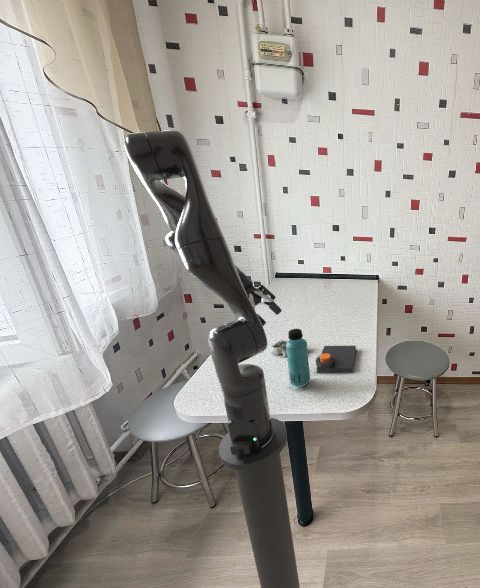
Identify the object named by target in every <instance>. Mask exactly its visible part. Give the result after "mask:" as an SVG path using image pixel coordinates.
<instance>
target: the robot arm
mask: <svg viewBox="0 0 480 588" xmlns="http://www.w3.org/2000/svg"><path fill="white" fill-rule="evenodd" d="M123 143H124V148H125V151H126V154H127V157H128V159H129V161H130V163H131V166H132V167H133V170H134V172H135V173H136V175H137V176H138V178H139V179H140V181H141V183H142V184H143V186H144V187H145V188H146V190H147V192H148V193H149V195H150V196H151V197H152V199H153V200H154V202H155V203H156V205H157V206H158V207H159V209H160V211H161V213H162V217H163V218H164V221H165V223H166V225H167V227H168V229H169V230H170V232H169V233H167V234H166V236H165V244H166V245H167V247H168V248H169V249H170V250H171V251H172V252H174V253H176V254H177V255H179V256H180V259H181V261H182V263H183V265H184V269H185V270H186V272H187V273H188V274H189V275H190V276H191V277H192V278H193V279H194V280H195V281H197V282H198V283H199V284H201V285H202V286H204V287H205V288H206V289H208V290H210V291H211V292H212V293H214V294H215V295H217V296H218V297H219V298H220V299H221V300H222V301H223V302H224V303H225V304H226V305H227V307H228V308H229V309H230V311H231V313H232V315H233V317H234V319H235V320H232V321H230V322H228V323H224V324H222V325H219V326H216V327H214V328H212V329H210V330H209V332H208V334H207V346H208V349H209V353H210V356H211V359H212V362H213V366H214V369H215V374H216V378H217V380H218V383H219V385H220V389H221V394H222V398H223V403H224V407H225V412H226V416H227V421H228V423H227V428H228V432H229V433H230V438H231V442H232V445H231V446H230V449H231V454H232V455H237V459H238V460H241V459H243V456H241V454H250V453H260V452H261V450H262V449H263V448H265V447H266V446H267V445H268V444H269V443H270V442H271V440H272V439H273V435H274V433H273V429H272V423H271V422H272V420H271V418H272V417H271V411H270V406H269V405H270V404H269V398H268V391H267V385H266V384H267V383H266V378H265V372H264V370H263V369H262V368H261V366H260V365H257V364H253V363H242V362H245V361H247V360H250V359H251V358H253V357H256V356H258V355H260V354H262V353H264V351H266V349H267V347H268V337H267V333H266V331H265V329H264V326H265V325H266V324H267V321H266V319H264V318H263V317H262V316H261V315H260V314H259V313H257V312H256V309H255V308H256V307H257V306H258V305H260V306H266V307H268V308H269V309H270V311H272V312H273V313H274V314H275V316H278V315H280V313H282V311H283V310H282V308H281V307H280V306H279V305H278V304H277V303H276V302H275V299H276V295H275V294H274V293H273V292H272V291H270V290H269V288H267V287H266V286H265V285H264V284H260V285H259V286H258V287H257V288H256V287H255V286H254V282H253V280H251V278H249V276H248V275H246V274H245V273H244V272H243V271H242V270H241V269H240V268H239V267H238V266H237V265H236V264H235V262H234V259H233V255H232V253H231V250H230V248H229V246H228V243H227V240H226V238H225V235H224V233H223V232H222V229H221V227H220V224H219V222H218V219H217V217H216V215H215V212H214V211H213V208H212V205H211V203H210V200H209V197H208V194H207V191H206V188H205V186H204V182H203V180H202V176H201V173H200V169H199V167H198V164H197V161H196V158H195V155H194V152H193V150H192V148H191V145H190V143H189V141H188V140H187V137H185V135H184V134H183V133H182V132H181V131H179V130H174V129H172V130H171V129H170V130H169V129H168V130H155V131H154V130H153V131H139V132H138V131H137V132H131V133H127V134H126V135H125V136H124V138H123ZM179 178H181V179H184V181H185V195H184V194H182V192H180V191H178V190H176V189H175V188H173V187H171V186H169V185H167V184H166V183H165V182H164V181H163V180H173V179H179ZM241 363H242V364H241Z"/></svg>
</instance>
